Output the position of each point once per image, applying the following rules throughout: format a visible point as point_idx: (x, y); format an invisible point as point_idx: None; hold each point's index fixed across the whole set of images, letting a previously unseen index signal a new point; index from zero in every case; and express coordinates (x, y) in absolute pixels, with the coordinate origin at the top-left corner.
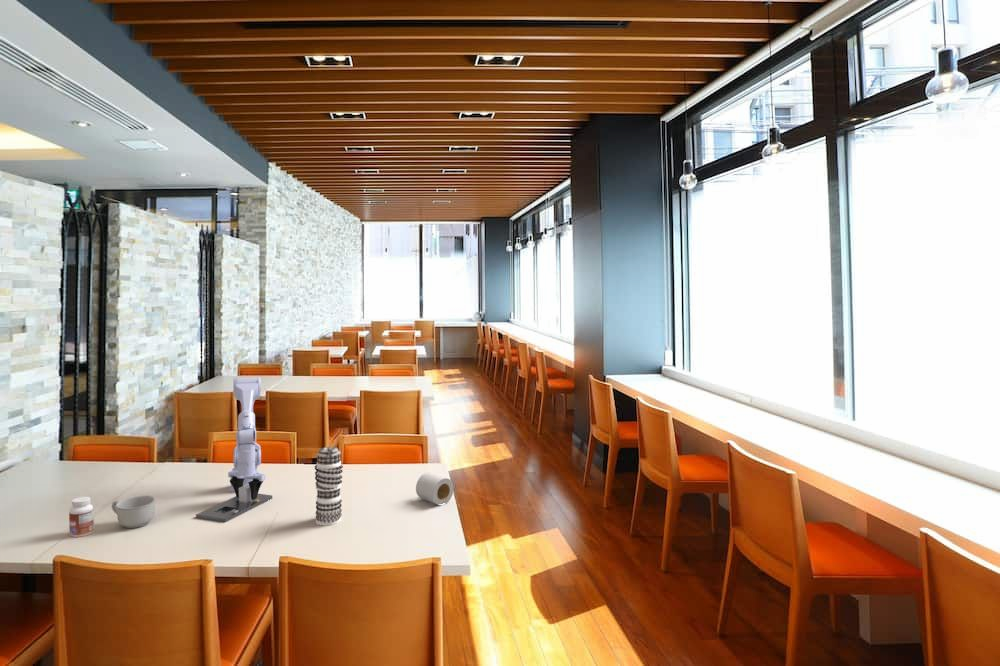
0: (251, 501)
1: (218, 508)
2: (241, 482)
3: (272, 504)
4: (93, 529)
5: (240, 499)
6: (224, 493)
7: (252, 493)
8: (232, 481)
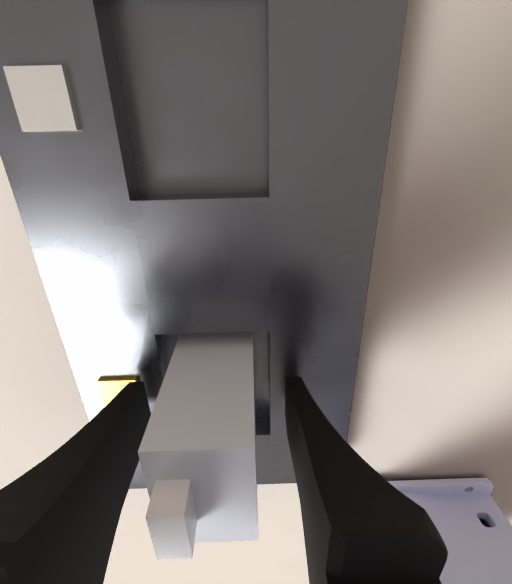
0: (143, 369)
1: (291, 110)
2: (309, 548)
3: (39, 407)
4: None
5: (235, 356)
6: (497, 444)
7: (91, 423)
8: (368, 525)
